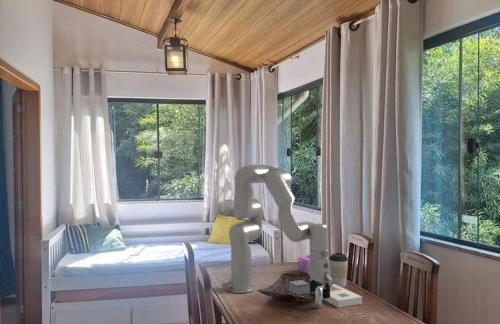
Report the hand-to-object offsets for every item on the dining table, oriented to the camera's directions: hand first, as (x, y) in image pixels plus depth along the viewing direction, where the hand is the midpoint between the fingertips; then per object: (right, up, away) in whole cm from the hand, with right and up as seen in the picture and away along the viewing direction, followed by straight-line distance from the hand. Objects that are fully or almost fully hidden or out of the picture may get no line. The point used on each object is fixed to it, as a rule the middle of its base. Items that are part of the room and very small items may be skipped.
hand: (319, 294), depth 182 cm
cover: (-7, -5, +15) cm, 17 cm away
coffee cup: (+14, -5, +32) cm, 35 cm away
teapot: (+3, -5, +53) cm, 54 cm away
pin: (0, -5, 0) cm, 5 cm away
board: (+9, -5, +11) cm, 15 cm away
